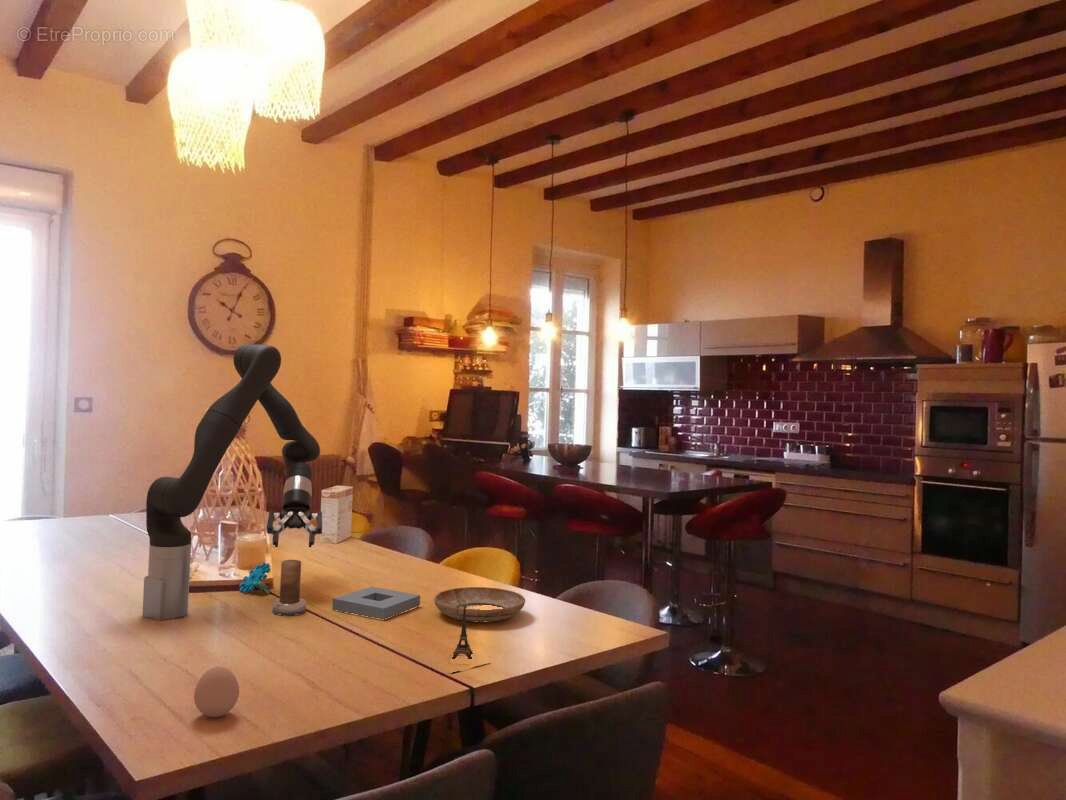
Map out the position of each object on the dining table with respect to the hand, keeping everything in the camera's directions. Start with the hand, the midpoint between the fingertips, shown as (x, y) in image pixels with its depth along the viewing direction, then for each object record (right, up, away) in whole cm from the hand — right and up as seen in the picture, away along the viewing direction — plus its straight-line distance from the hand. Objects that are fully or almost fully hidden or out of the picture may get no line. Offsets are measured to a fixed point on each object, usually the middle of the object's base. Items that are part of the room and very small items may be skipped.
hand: (293, 545), depth 209 cm
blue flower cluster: (-13, -15, +9) cm, 22 cm away
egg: (+9, -16, -73) cm, 76 cm away
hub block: (+22, -16, -2) cm, 28 cm away
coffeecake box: (-11, -14, +88) cm, 90 cm away
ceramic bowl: (+49, -18, -4) cm, 52 cm away
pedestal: (+1, -15, -9) cm, 17 cm away
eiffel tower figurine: (+48, -18, -39) cm, 65 cm away
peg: (+2, -13, -9) cm, 15 cm away
